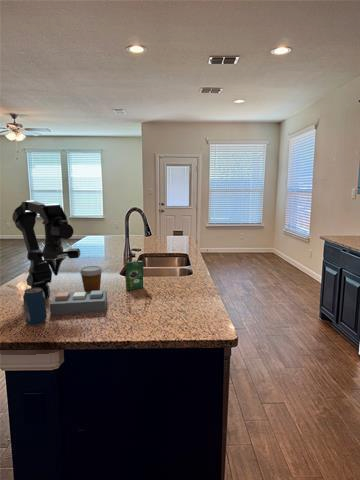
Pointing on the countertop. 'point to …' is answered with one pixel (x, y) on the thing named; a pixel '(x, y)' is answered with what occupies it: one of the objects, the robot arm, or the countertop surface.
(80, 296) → the pale key
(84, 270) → the disposable coffee cup
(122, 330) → the countertop surface
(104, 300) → the key panel
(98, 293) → the slate key
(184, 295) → the countertop surface
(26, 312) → the soda can
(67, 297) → the rust key
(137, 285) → the coffee box
